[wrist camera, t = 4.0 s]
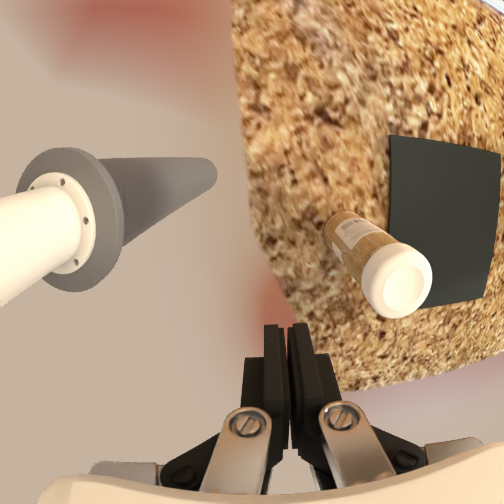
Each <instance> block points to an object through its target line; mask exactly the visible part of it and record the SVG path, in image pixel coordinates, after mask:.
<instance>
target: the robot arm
mask: <svg viewBox="0 0 504 504" xmlns="http://www.w3.org/2000/svg"><path fill="white" fill-rule="evenodd" d="M95 238H96V223H95V215H94V212H93V208H92V205H91V202H90V200H89V197H88V195H87V194H86V192H85V191H84V189H83V187H82V186H81V185H80V184H79V183H78V182H77V181H76V180H75V179H74V178H72V177H71V176H69V175H67V174H65V173H60V172H51V173H46V174H43V175H41V176H39V177H38V178H36V179H35V180H34V181H33V182H32V183H31V185H30V187H29V188H28V190H27V191H25V192H21V193H17V194H13V195H10V196H6V197H2V198H0V308H1V307H2V306H3V305H5V304H6V303H7V302H9V301H10V300H11V299H13V298H14V297H15V296H17V295H18V294H19V293H21V292H22V291H24V290H25V289H26V288H28V287H29V286H31V285H32V284H34V283H35V282H36V281H38V280H39V279H41V278H42V277H44V276H45V275H47V274H48V273H50V272H54V273H57V274H69V273H72V272H74V271H76V270H78V269H79V268H80V267H82V266H83V265H84V264H85V263H86V262H87V260H88V259H89V257H90V255H91V253H92V250H93V248H94V243H95ZM289 421H290V425H291V440H292V449H298V456H301V458H302V459H303V460H305V461H307V462H308V463H309V464H310V470H311V473H312V476H313V479H314V483H315V486H316V489H317V492H307V493H296V494H280V495H268V491H269V485H270V480H271V475H272V467H274V466H275V465H276V464H277V463H279V462H280V461H281V460H282V458H283V449H288V437H289ZM36 504H504V442H496V443H490V444H486V445H483V443H482V442H481V441H480V440H479V439H477V438H474V437H468V438H463V439H458V440H452V441H445V442H438V443H431V444H426V445H425V446H424V447H419V446H417V445H415V444H413V443H411V442H408V441H406V440H404V439H401V438H399V437H397V436H394V435H392V434H389V433H387V432H385V431H382V430H381V429H378V428H376V427H374V426H372V425H370V423H369V421H368V420H367V418H366V416H365V414H364V412H363V411H362V409H361V408H360V407H359V406H357V405H356V404H354V403H352V402H348V401H342V398H341V395H340V391H339V387H338V384H337V380H336V377H335V373H334V370H333V367H332V363H331V360H330V357H329V354H328V353H326V354H314V350H313V345H312V341H311V337H310V333H309V329H308V325H307V323H295V324H293V327H288V339H287V356H286V346H285V337H284V328H278V324H276V325H275V324H274V325H264V357H253V358H245V362H244V373H243V384H242V395H241V406H240V408H238V409H236V410H234V411H232V412H231V413H230V414H229V415H227V417H226V419H225V421H224V423H223V426H222V429H221V432H220V433H218V434H217V435H215V436H213V437H211V438H210V439H208V440H206V441H205V442H203V443H201V444H200V445H198V446H196V447H195V448H193V449H191V450H189V451H188V452H186V453H184V454H182V455H180V456H178V457H177V458H175V459H173V460H171V461H169V462H168V463H167V464H165V465H157V464H156V463H137V462H133V463H132V462H114V461H101V462H98V463H96V464H94V465H93V466H92V467H91V468H90V471H89V473H88V474H79V475H78V474H77V475H68V476H63V477H60V478H57V479H55V480H54V481H52V482H51V483H50V484H49V485H48V486H47V488H46V489H45V490H44V492H43V493H42V494H41V496H40V497H39V499H38V501H37V503H36Z"/></svg>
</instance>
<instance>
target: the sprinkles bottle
mask: <svg viewBox="0 0 504 504" xmlns="http://www.w3.org/2000/svg"><path fill="white" fill-rule="evenodd" d="M324 238H325V242H326V244H327V246H328V247H329V248H330V249H331V250H332V251H334V253H335V255H336V256H337V257H338V259H339V260H340V261H341V263H342V264H343V265H344V266H345V267H346V269H347V270H348V271H349V272H350V274H351V275H352V276H353V277H354V278H355V280H356V281H357V282H358V283H359V285H360V286H361V287H362V291H363V294H364V296H365V298H366V299H367V301H368V302H369V303H370V305H371V306H372V307H373V308H374V310H375V311H376V312H377V313H378V314H380V315H381V316H384V317H386V318H392V319H393V318H401V317H404V316H407V315H409V314H411V313H412V312H414V311H415V310H416V309H417V308H418V307H419V306H420V305H421V304H422V303H423V302H424V300H425V299H426V297H427V295H428V293H429V291H430V288H431V283H432V271H431V267H430V264H429V262H428V261H427V259H426V258H425V257H424V256H423V255H422V254H421V253H419V252H418V251H417V250H415V249H414V248H412V247H411V246H409V245H407V244H403V243H400V242H398V241H397V240H395V239H394V238H393V237H392V236H391V235H389V234H388V233H386V232H385V231H383V230H382V229H380V228H378V227H377V226H375V225H373V224H372V223H370V222H368V221H367V220H365V219H362V218H361V217H360V216H359V215H358V214H356V213H354V212H351V211H341V212H338V213H336V214H334V215H333V216H332V217H331V218H330V219H329V220H328V221H327V223H326V225H325V228H324Z"/></svg>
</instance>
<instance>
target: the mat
mask: <svg viewBox="0 0 504 504" xmlns="http://www.w3.org/2000/svg"><path fill="white" fill-rule="evenodd" d="M389 147H390V203H389V224H388V234H389V235H391V236H392V237H393V238H394V239H395V240H397V241H398V242H400V243H403V244H407V245H409V246H411V247H412V248H414V249H415V250H417V251H418V252H419V253H421V254H422V255H423V256H424V257H425V258H426V259H427V261H428V262H429V264H430V267H431V271H432V283H431V288H430V291H429V293H428V295H427V297H426V299H425V300H424V302H423V303H422V304H421V305H420V306H419V307H418V308H417V309H422V308H428V307H434V306H440V305H446V304H452V303H457V302H462V301H468V300H473V299H478V298H482V297H483V295H484V291H485V287H486V283H487V279H488V274H489V270H490V265H491V260H492V255H493V249H494V243H495V236H496V229H497V221H498V211H499V199H500V178H501V154H498V153H494V152H489V151H485V150H481V149H476V148H472V147H467V146H462V145H457V144H451V143H446V142H440V141H434V140H427V139H420V138H412V137H404V136H395V135H389Z"/></svg>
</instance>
